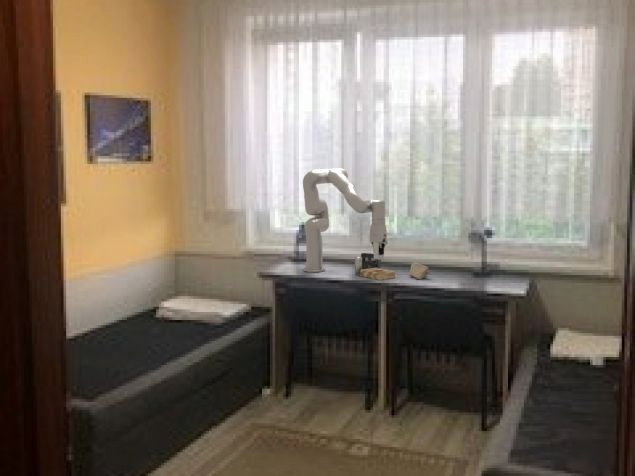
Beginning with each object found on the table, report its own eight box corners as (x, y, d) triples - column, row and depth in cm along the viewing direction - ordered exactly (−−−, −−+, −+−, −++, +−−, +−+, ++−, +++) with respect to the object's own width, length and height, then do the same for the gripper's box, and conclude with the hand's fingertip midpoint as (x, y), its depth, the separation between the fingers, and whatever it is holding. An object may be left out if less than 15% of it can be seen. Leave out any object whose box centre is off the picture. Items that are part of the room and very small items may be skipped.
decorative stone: (414, 274, 395) (414, 260, 393) (430, 279, 382) (431, 264, 381) (403, 276, 390) (403, 262, 389) (419, 280, 378) (419, 265, 377)
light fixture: (385, 270, 412) (386, 252, 411) (376, 272, 401) (377, 254, 400) (369, 269, 417) (369, 251, 416) (359, 271, 406) (360, 253, 405)
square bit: (373, 258, 387) (373, 241, 386) (378, 258, 390) (378, 240, 389) (378, 259, 384) (378, 241, 383) (383, 258, 387) (383, 241, 385)
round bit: (353, 274, 397) (353, 257, 396) (359, 273, 400) (358, 256, 399) (358, 274, 394) (358, 257, 393) (363, 274, 397) (363, 257, 395)
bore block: (360, 275, 391) (360, 269, 391) (375, 273, 399) (376, 267, 398) (379, 280, 379) (379, 273, 378) (395, 277, 386) (395, 271, 386)
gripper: (363, 221, 389) (363, 253, 391) (383, 223, 376) (384, 256, 378) (373, 220, 393) (373, 252, 396) (393, 222, 380) (394, 255, 382)
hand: (378, 254), depth 387 cm, fingers closed on square bit, 4 cm apart
